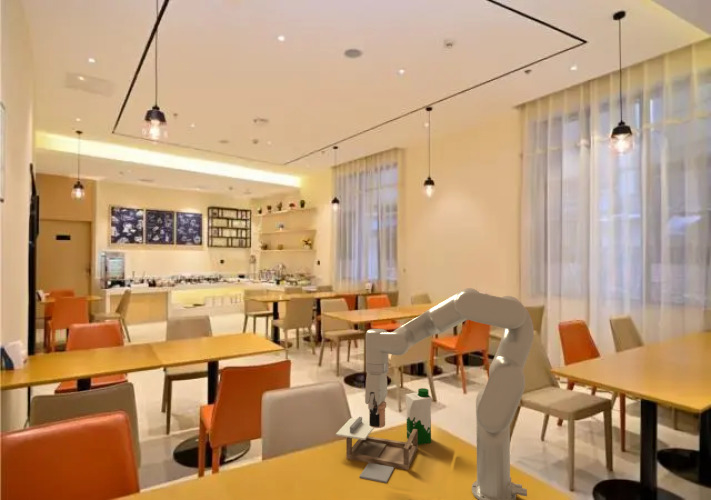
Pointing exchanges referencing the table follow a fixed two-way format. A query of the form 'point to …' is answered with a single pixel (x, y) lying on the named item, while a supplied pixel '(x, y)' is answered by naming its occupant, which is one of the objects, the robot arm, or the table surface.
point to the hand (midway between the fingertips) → (377, 422)
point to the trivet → (377, 472)
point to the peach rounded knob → (382, 414)
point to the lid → (356, 429)
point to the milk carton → (419, 415)
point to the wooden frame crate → (384, 451)
